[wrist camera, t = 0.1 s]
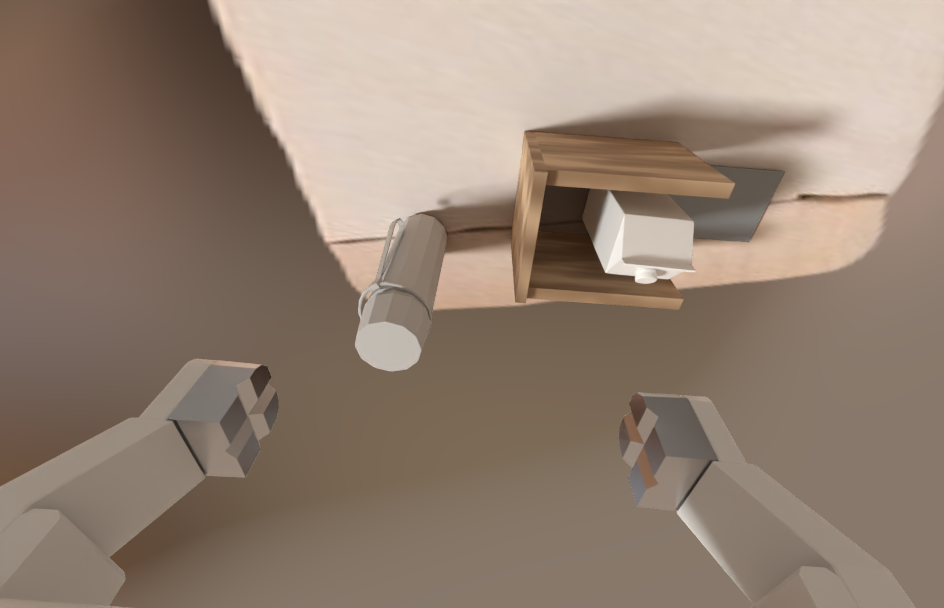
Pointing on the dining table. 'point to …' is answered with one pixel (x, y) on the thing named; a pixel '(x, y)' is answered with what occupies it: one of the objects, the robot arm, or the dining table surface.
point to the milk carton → (639, 234)
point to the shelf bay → (573, 256)
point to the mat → (732, 205)
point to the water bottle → (402, 295)
